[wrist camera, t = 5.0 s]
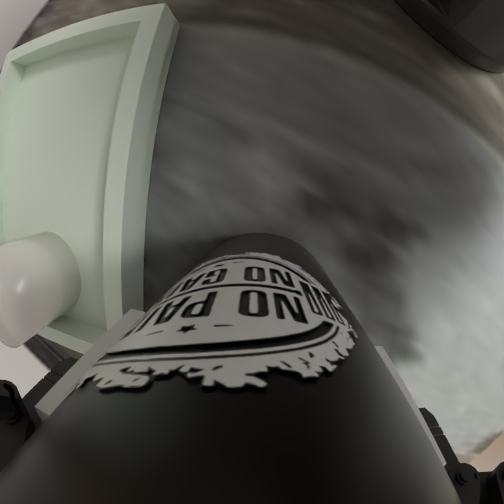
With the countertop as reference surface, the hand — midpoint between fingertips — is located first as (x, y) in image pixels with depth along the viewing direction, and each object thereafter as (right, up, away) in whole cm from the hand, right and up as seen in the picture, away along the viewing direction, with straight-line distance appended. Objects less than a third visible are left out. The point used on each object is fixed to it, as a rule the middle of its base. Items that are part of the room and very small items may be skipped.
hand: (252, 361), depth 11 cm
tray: (-14, +9, +5) cm, 17 cm away
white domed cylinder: (-14, +3, +5) cm, 16 cm away
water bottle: (0, +1, +6) cm, 6 cm away
